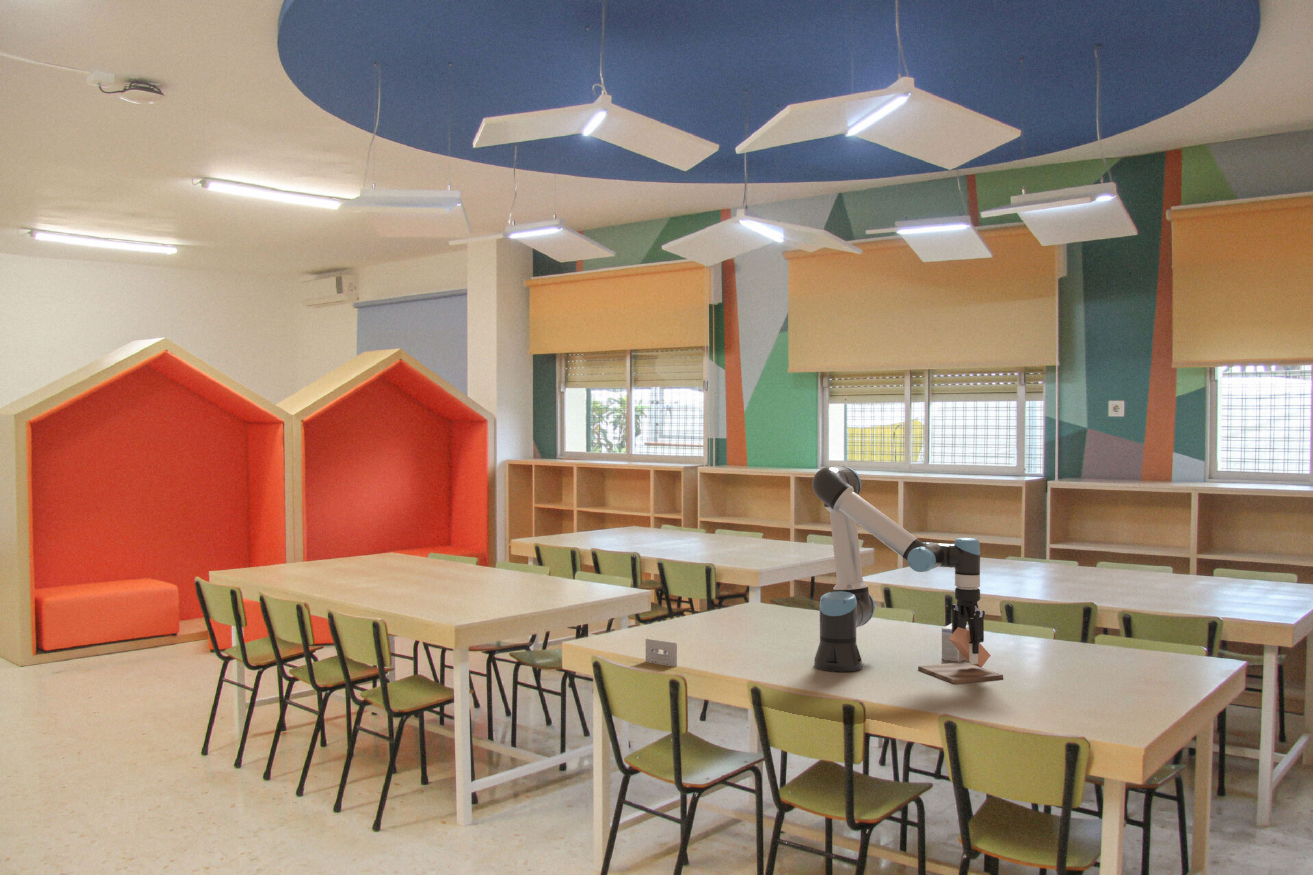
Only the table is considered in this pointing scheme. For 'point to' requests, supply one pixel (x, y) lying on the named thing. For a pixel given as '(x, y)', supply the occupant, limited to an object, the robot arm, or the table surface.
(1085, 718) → the table surface
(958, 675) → the walnut board
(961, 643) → the terracotta block
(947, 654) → the light bulb box
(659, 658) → the cassette
